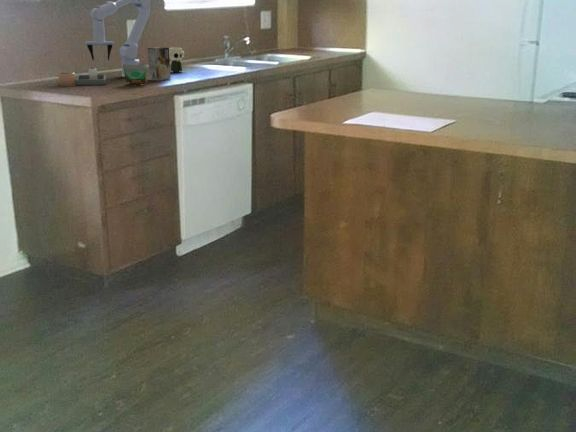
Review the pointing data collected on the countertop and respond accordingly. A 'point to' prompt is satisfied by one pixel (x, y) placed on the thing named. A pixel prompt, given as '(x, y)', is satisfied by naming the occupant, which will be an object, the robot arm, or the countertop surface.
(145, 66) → the food container
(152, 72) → the coffee box
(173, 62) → the big headed figurine
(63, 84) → the pot
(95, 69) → the cell
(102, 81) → the tray
